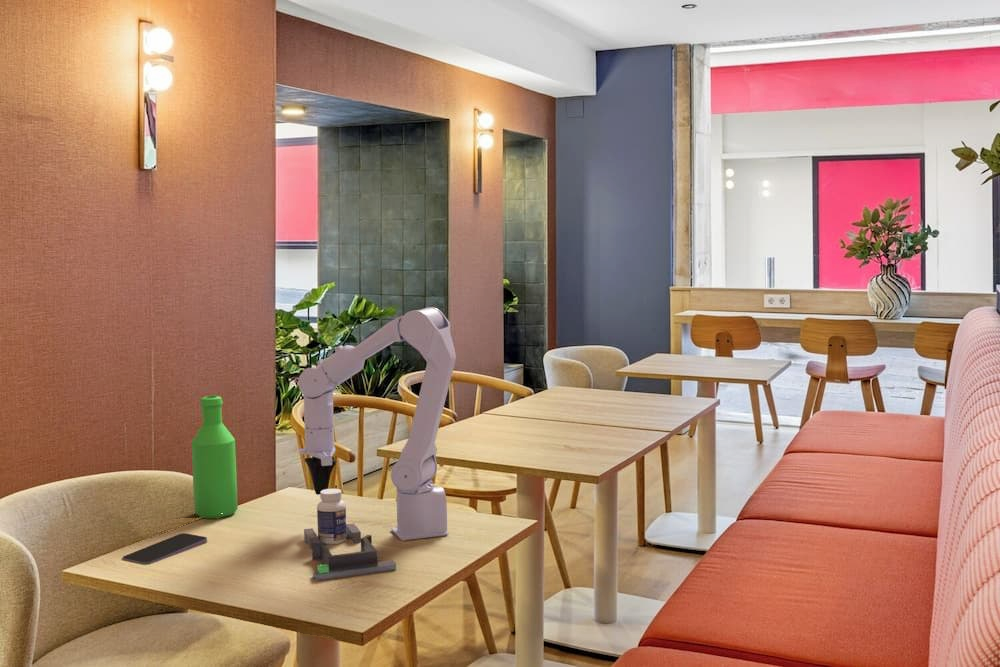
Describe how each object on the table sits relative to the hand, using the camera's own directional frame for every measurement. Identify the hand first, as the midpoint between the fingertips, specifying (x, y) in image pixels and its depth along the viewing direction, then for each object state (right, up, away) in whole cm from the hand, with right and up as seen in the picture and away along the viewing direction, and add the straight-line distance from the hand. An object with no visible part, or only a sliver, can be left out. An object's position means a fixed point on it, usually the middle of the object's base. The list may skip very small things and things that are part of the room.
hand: (321, 493), depth 196 cm
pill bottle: (+4, -8, -9) cm, 12 cm away
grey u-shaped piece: (+4, -8, -9) cm, 12 cm away
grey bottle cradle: (+9, -9, -22) cm, 25 cm away
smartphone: (-27, -9, -13) cm, 31 cm away
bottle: (-24, -6, +11) cm, 27 cm away
